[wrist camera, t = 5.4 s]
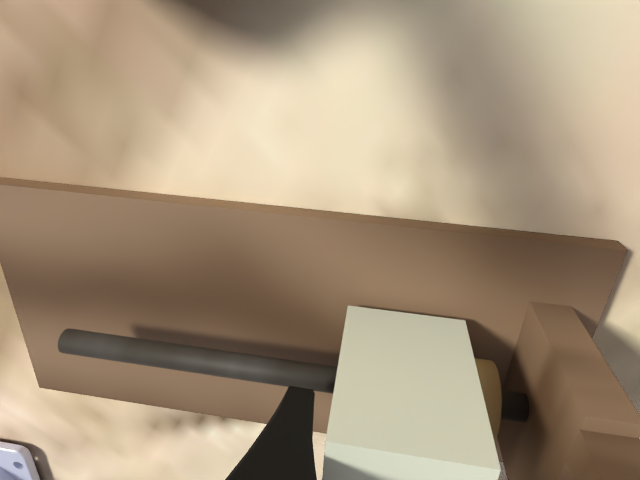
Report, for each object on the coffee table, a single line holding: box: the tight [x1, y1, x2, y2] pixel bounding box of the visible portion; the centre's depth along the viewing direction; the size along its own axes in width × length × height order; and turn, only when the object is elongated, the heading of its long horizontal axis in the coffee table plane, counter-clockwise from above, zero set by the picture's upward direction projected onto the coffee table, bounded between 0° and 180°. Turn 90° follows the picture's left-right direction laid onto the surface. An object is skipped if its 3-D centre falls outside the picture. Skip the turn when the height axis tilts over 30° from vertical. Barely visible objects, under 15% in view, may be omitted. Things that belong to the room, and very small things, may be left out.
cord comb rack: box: [0, 177, 640, 480], centre depth 13 cm, size 9×20×7 cm, turn 87°
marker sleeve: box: [322, 306, 501, 480], centre depth 12 cm, size 4×4×5 cm
